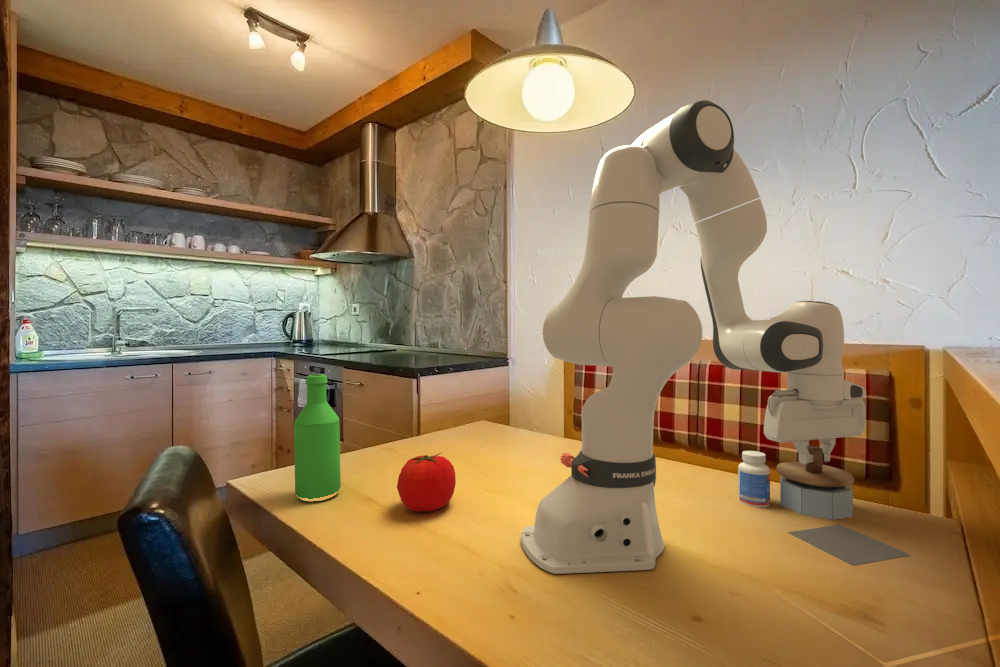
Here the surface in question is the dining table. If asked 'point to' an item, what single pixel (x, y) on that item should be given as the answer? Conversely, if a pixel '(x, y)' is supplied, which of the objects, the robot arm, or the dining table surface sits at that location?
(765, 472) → the pill bottle
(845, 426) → the robot arm
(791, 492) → the bowl
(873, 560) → the mat
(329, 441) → the bottle
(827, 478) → the lid
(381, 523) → the dining table surface
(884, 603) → the dining table surface
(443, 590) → the dining table surface
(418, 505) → the tomato
